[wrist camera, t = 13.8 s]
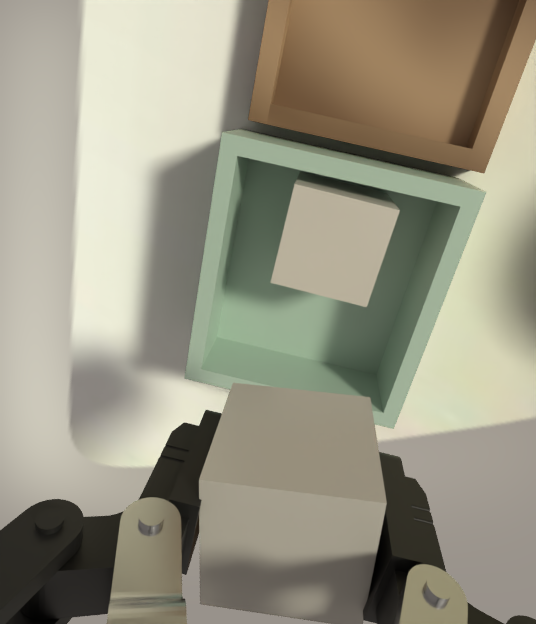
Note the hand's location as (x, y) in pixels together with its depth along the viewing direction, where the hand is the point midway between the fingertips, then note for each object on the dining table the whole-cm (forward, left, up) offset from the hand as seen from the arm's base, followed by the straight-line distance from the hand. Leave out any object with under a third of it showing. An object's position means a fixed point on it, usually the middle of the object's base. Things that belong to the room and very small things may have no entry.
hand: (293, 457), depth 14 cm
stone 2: (0, 0, -1) cm, 1 cm away
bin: (-2, 0, -11) cm, 12 cm away
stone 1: (-5, 0, -11) cm, 12 cm away
